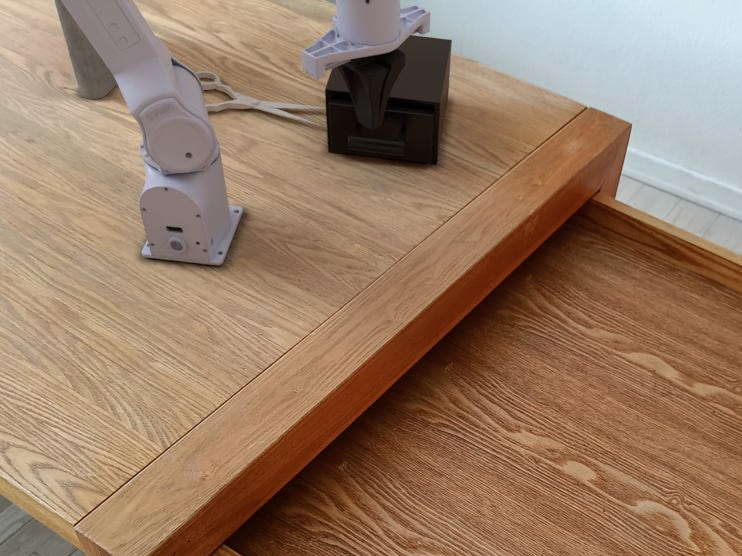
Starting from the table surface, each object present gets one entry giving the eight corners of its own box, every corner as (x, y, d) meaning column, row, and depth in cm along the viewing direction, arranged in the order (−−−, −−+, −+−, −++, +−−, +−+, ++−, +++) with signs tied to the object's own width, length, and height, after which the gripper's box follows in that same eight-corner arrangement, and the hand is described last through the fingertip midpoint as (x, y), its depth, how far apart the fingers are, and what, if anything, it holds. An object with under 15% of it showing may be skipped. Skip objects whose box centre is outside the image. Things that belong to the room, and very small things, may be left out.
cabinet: (436, 165, 102) (440, 102, 96) (328, 152, 102) (324, 89, 96) (448, 100, 111) (451, 39, 105) (348, 88, 111) (346, 26, 105)
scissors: (183, 66, 109) (342, 92, 108) (185, 73, 109) (342, 98, 109) (149, 110, 102) (318, 138, 101) (151, 116, 103) (318, 144, 102)
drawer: (427, 185, 98) (429, 137, 93) (324, 173, 97) (321, 124, 93) (442, 102, 109) (444, 55, 104) (349, 91, 109) (348, 44, 104)
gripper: (394, -57, 82) (392, 83, 93) (273, -15, 75) (286, 132, 86) (449, -30, 80) (441, 111, 91) (330, 15, 73) (336, 163, 83)
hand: (369, 123), depth 88 cm, fingers closed
